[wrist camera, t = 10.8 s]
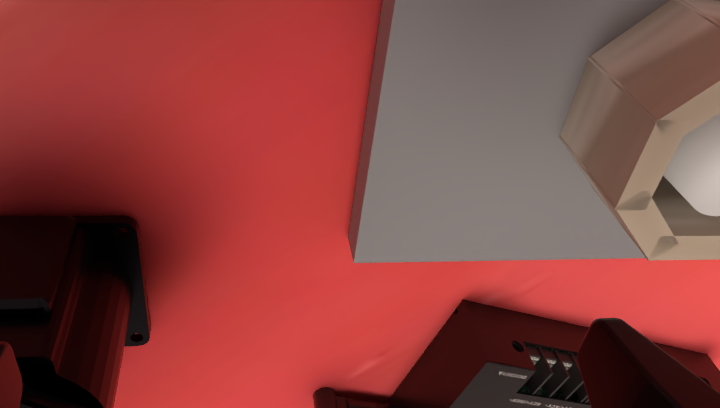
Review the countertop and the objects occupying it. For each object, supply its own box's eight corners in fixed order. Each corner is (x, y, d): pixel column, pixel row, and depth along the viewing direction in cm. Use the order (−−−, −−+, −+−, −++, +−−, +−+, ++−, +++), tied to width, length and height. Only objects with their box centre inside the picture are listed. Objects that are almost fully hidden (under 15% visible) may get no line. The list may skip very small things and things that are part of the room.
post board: (777, 233, 28) (874, 324, 24) (347, 236, 24) (372, 346, 20) (1004, -99, 20) (1214, -50, 16) (408, -176, 16) (471, -139, 12)
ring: (709, 188, 24) (781, 259, 21) (539, 186, 22) (589, 261, 19) (813, 7, 20) (922, 62, 16) (612, -10, 18) (691, 46, 15)
